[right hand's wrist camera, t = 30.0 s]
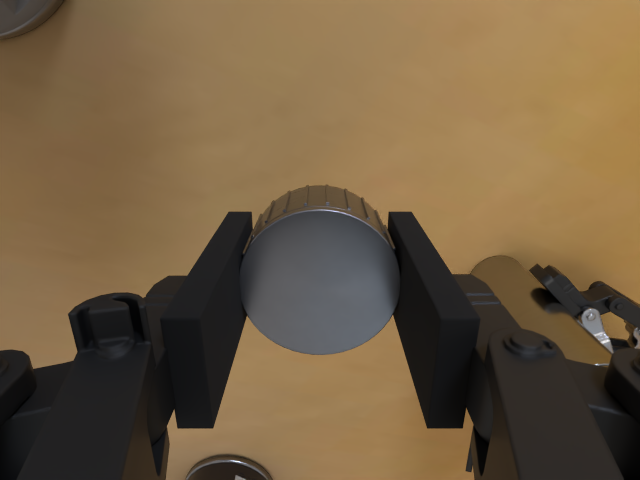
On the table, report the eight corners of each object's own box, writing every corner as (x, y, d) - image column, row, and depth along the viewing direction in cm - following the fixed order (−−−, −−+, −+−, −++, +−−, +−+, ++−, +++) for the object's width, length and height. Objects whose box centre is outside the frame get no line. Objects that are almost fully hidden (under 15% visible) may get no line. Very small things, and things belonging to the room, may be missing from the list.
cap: (222, 254, 14) (202, 291, 12) (316, 152, 13) (314, 171, 11) (323, 334, 16) (323, 382, 13) (418, 248, 14) (438, 283, 12)
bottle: (535, 266, 35) (762, 473, 17) (506, 312, 37) (686, 545, 19) (484, 247, 34) (665, 442, 16) (457, 295, 36) (594, 520, 18)
